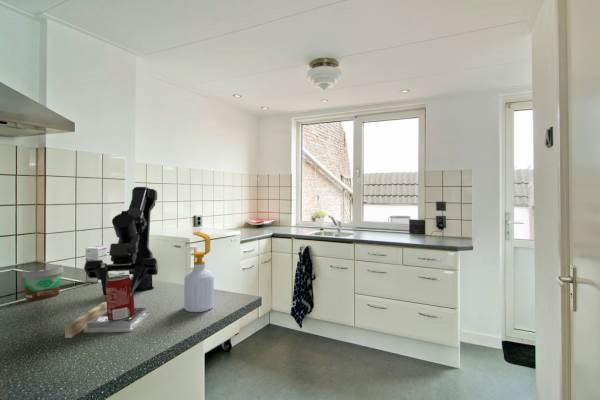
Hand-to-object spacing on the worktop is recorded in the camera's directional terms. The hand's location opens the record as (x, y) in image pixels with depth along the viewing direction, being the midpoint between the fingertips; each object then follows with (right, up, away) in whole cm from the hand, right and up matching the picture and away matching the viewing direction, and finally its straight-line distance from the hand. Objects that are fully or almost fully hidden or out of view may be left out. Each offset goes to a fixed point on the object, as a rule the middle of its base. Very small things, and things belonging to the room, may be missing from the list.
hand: (117, 294), depth 90 cm
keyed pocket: (0, -9, +1) cm, 9 cm away
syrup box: (-34, -8, +44) cm, 56 cm away
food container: (-38, -8, +23) cm, 45 cm away
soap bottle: (+18, -9, +14) cm, 25 cm away
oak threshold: (-9, -9, +1) cm, 12 cm away
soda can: (0, -8, +1) cm, 8 cm away
